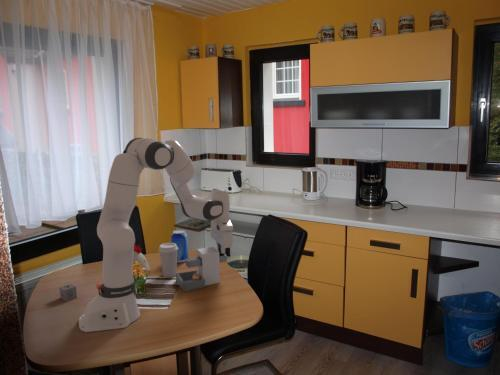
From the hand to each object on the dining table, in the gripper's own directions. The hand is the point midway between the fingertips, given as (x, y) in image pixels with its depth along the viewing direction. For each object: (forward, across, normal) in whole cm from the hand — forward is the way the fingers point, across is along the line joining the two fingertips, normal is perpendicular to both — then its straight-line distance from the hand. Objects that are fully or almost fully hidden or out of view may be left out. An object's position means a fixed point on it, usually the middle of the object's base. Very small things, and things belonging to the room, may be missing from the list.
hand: (221, 251), depth 197 cm
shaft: (+5, 0, -7) cm, 9 cm away
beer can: (+14, -34, -11) cm, 38 cm away
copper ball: (+11, 0, -12) cm, 17 cm away
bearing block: (+14, 0, -6) cm, 15 cm away
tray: (+14, 0, -15) cm, 20 cm away
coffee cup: (+14, -16, -21) cm, 30 cm away
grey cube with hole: (+14, -10, -67) cm, 69 cm away
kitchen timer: (+14, -25, -36) cm, 46 cm away
